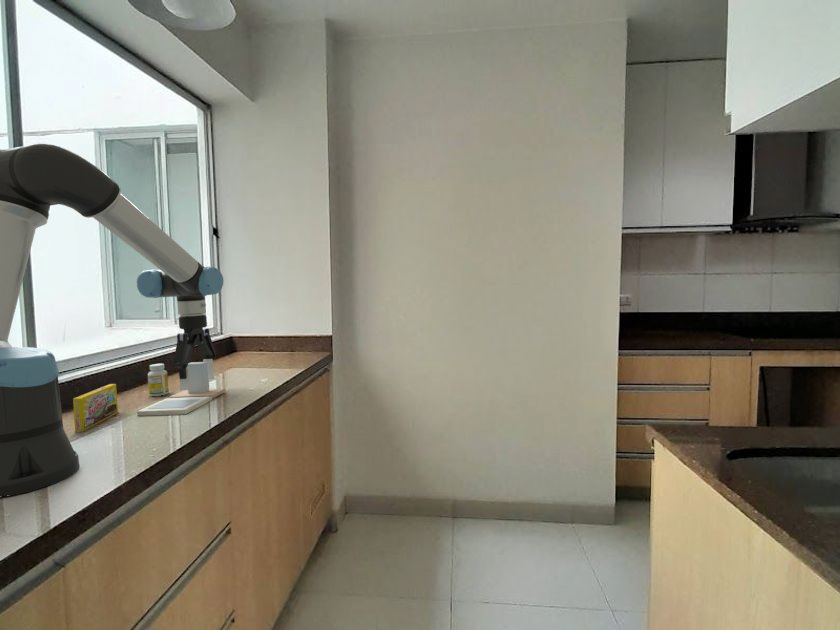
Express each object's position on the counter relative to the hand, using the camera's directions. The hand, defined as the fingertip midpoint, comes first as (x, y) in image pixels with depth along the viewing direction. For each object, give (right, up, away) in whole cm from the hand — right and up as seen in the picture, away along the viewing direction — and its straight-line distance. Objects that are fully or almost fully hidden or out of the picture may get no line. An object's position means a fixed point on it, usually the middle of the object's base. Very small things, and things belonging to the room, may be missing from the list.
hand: (198, 384), depth 136 cm
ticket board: (0, -5, -12) cm, 13 cm away
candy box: (-15, -6, -22) cm, 27 cm away
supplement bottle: (-15, -4, +5) cm, 16 cm away
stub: (0, -3, 0) cm, 3 cm away
